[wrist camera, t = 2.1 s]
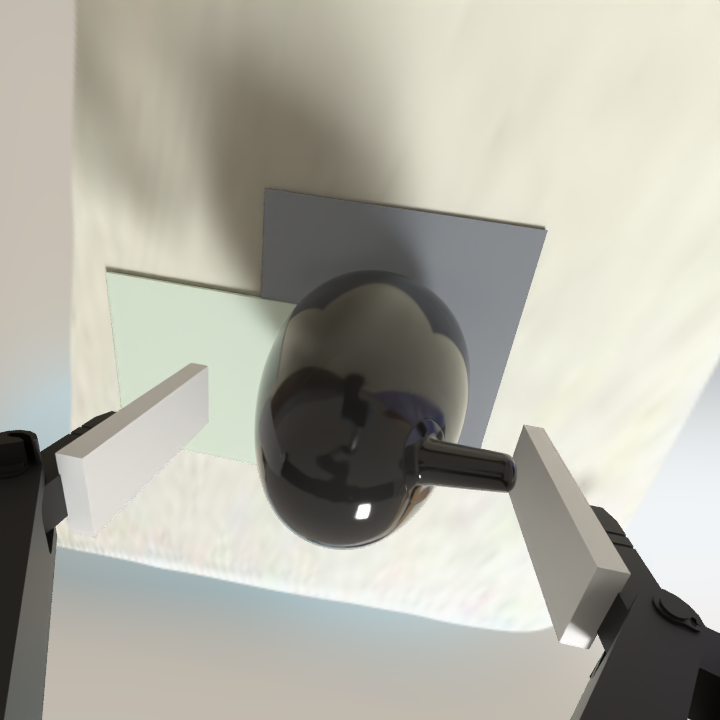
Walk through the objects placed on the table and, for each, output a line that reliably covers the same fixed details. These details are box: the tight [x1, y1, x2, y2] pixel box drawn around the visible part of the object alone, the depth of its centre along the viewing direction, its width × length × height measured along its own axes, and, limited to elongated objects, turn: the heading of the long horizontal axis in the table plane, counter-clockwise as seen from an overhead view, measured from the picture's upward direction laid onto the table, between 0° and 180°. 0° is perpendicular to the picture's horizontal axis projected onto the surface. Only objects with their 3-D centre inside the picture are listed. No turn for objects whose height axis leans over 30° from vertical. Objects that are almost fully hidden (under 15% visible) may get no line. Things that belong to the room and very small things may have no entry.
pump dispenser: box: [254, 270, 517, 550], centre depth 18 cm, size 10×10×15 cm
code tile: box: [261, 188, 548, 448], centre depth 25 cm, size 16×16×1 cm
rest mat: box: [106, 271, 297, 465], centre depth 27 cm, size 13×13×1 cm
